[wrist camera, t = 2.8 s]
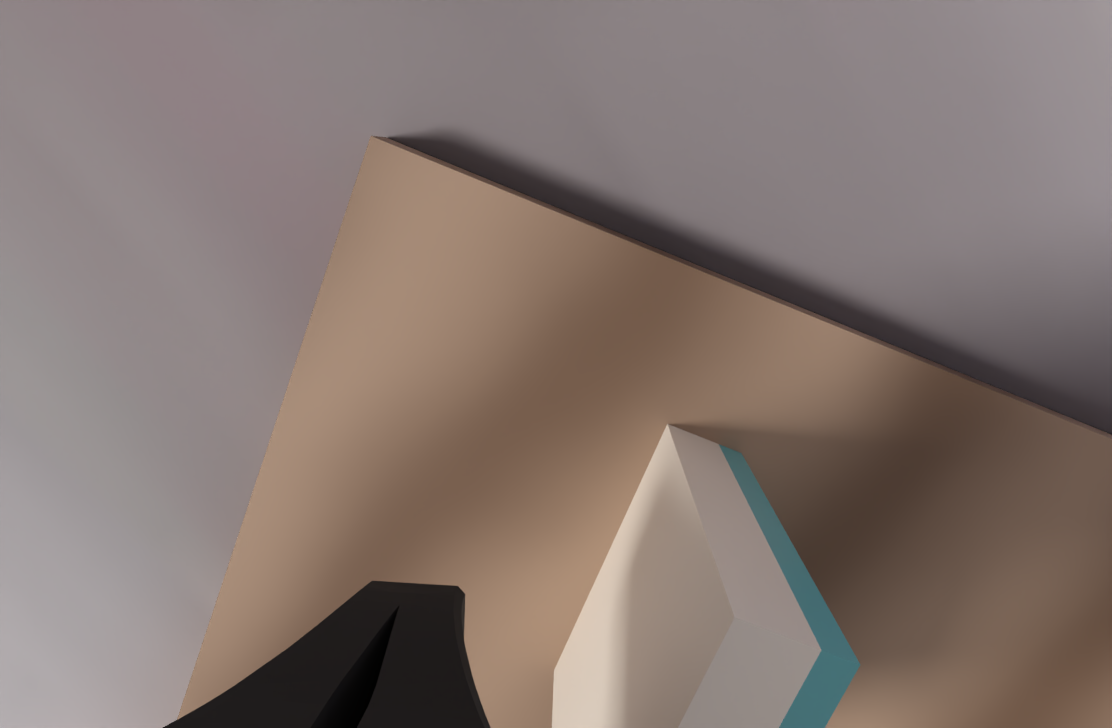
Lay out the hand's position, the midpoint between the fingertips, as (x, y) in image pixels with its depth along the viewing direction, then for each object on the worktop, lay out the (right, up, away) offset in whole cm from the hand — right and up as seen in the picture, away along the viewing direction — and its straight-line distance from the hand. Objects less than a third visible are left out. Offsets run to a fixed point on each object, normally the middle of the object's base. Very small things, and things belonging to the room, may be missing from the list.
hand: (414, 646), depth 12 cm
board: (+6, -3, +7) cm, 10 cm away
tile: (+4, 0, +5) cm, 7 cm away
